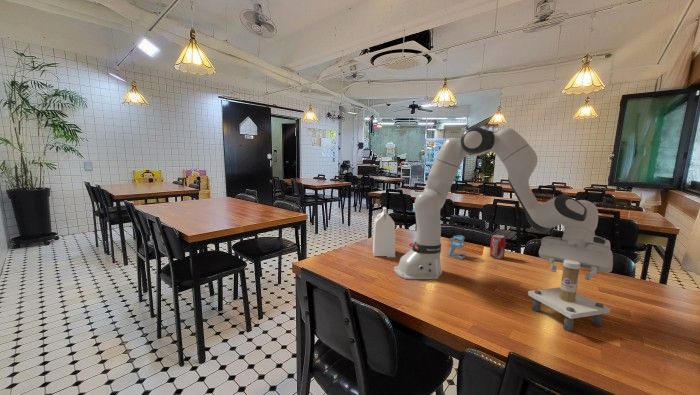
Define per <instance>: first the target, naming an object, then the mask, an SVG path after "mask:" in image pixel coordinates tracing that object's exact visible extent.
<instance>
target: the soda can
mask: <svg viewBox="0 0 700 395" xmlns="http://www.w3.org/2000/svg"><path fill="white" fill-rule="evenodd" d="M489 248H490V249H489V255H490V257H491V258H493V259H496V258H497V259H499V260H500V259H503V258H504V257H505V253H506V252H505V250H506V239H505V236H504V235H501V234H493V235H492V237H491V240H490V247H489Z"/></svg>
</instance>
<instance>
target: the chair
mask: <svg viewBox="0 0 700 395" xmlns="http://www.w3.org/2000/svg"><path fill="white" fill-rule="evenodd" d="M465 239H466V238H465V236H463V235H461V234H458V235H457V234H456V235H453V236H452V237H450V242H451V243H449V246H450V249H449V252H448V255H449V256H448V255H447V256H448V257H453V258H455V259H458V260H464V259H465V258H466V257H467V254H465V253H456V252H454V251H455V250H456V249H457V248H460V249H462V248H463V247H465V246H466V244H465V242H464V241H465ZM456 240H458V241H459V242H457V241H456ZM452 254H453V255H452ZM459 255H462V256H459ZM465 256H466V257H465Z"/></svg>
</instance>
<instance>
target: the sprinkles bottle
mask: <svg viewBox="0 0 700 395" xmlns="http://www.w3.org/2000/svg"><path fill="white" fill-rule="evenodd" d="M562 264H563V266H562V267H563V269H562V274H561V281H560V288H561V289H560V295H559V297H560V298H561V299H563V300H565V301H568V302H574V301H575V297H576V293H577V289H578V282H579V274H580V269H581V267H580V265H581V264H580V263H579V262H577V261H573V260H564V262H563V263H562Z"/></svg>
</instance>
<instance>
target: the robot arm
mask: <svg viewBox="0 0 700 395" xmlns="http://www.w3.org/2000/svg"><path fill="white" fill-rule="evenodd" d="M490 152H492V153H494V154H495V155H496V156H497V157H498V158H499V160H500V161H501V162H502V164H503V166H504V167H505V170H506V171H507V174H508V175H507V181H508V183H509V185H510V187H511V189H512V191H513V193H514V195H515V197H516V198H517V201H518V202H519V204H520V206H521V208H522V210H523V211H524V214H525V217H526V219H527V222H528V223H529V225H530V227H532V228H534V229H535V230H537V231H540V232H547V231H550V230H552V229H553V228H555V227H558V226H561V225H562V226H563V227H564V230H563V234H562V237H556V236H555V237H554V236H550V235H547V236H543V237H542V238H541V241H540V244H541V245H540V246H539V247H540V248H539V250H538V257H540V259H542V260H547V261H548V263H549V265H550V270H549V271H550V272H553V273H557V269H558V267H557V265H554V264H555V263H561V264H563V262H564V260H573V261H577V262H579V263H580V264H581V265H580V268H583V269H588V270H590V272H585V276H584V280H586V281H592V277H593V276H595V275H596V274H597V273H598V272H602V273H607V274H608V273H611V272H613V266H614V258H613V257H614V256H613V251H612V250H611V242H610V240H609V239H606V238H603V237H600V236H597V235H596V229H597V228H598V223H599V210H598V207H597V206H596V205H595V204H594V203H593V202H592V201H589V200H584V199H580V200H577V199H575V198H573V197H571V196H568V195H566V194H565V195H564V194H560V195H558V196H555V197H553V198H551V199H548V200H547V201H545V202H543V203H540V202H539V201H538V199H537V198H536V196H535V194H534V193H533V191H532V189H531V187H530V183H529V180H530V178H531V176H532V174H533V172H534V171H535V169H536V167H537V164H538V156H537V153H536V151H535V150H534V149H533V147H532V146H531V145H530V144H529V143H528V142H527V140H526V139H525V138H524V137H523V136H522V135H521V134H520V133H518V132H517V131H516V130H515V129H513V128H511V127H506V128H502V129H500V130H498V131H495V132H493V131H491V130H489V129H486V128H484V127H480V126H479V127H478V126H473V127H469V128H468V129H466V130H465V131H464V132H463V133H462V135H461V138H458V137H448V138H447V139H445V141H444V142H443V143H442V144H441V147H440V148H439V150H438V152H437V154H436V156H435V159H434V161H433V164H432V165H431V168H430V170H429V173H428V176H427V180H426V183H425V186H424V189H423V190H422V192H420V193H419V194H418V195H416V198H415V200H414V203H413V207H414V209H415V211H414V212H415V213H414V214H415V222H416V231H415V232H416V233H415V235H416V236H415V241H414V242H412V241H409V242H408V246H409V247H410V248H412V249H410V250H409V251H408V252H406V253H405V254H404V255H401V257H400V259H399V262H398V265H395V266H394V268H393V271H394V273H395V274H396V275H397V276H398V277H400V278H403V279H405V280H438V279H439V278H440V276H442V274H443V269H442V266H441V252H442V243H441V234H442V225H441V224H442V223H441V209H442V208H443V207H444V206H445V203H446V201H447V198H448V195H449V192H450V190H451V187H452V185H453V182H454V180H455V178H456V176H457V174H458V172H459V169H460V168H461V164H462V163H463V160H464V159H465V158H466V157H467V156H475V157H476V156H478V157H479V156H480V157H481V156H486V155H487V154H489V153H490Z"/></svg>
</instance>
